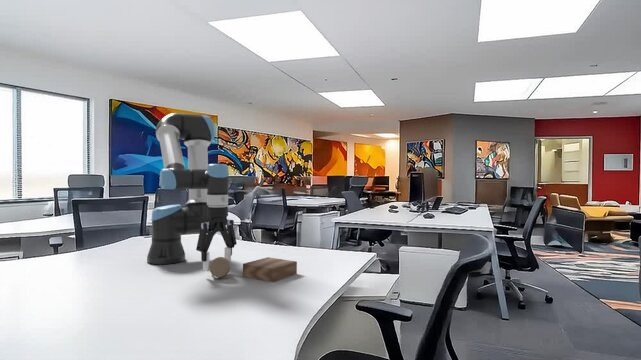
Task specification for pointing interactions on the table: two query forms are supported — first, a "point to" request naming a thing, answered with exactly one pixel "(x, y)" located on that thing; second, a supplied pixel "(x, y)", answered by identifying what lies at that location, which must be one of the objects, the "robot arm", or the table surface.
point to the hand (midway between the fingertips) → (217, 267)
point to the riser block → (269, 269)
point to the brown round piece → (220, 267)
